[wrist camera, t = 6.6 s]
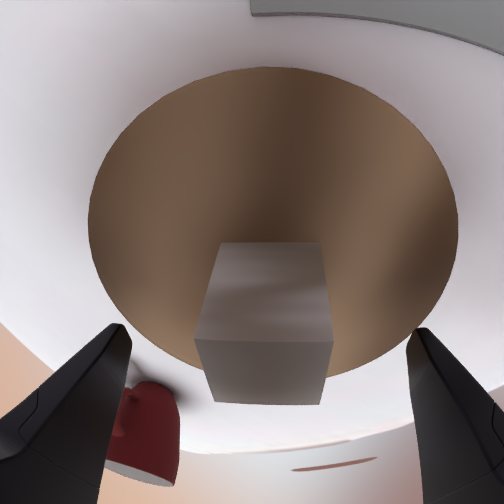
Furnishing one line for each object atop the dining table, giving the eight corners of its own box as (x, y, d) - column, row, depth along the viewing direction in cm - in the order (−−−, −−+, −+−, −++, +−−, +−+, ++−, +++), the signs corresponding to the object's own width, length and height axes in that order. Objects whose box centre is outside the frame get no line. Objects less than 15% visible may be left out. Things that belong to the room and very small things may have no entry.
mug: (93, 355, 27) (57, 438, 19) (156, 353, 25) (124, 456, 17) (145, 406, 33) (125, 478, 25) (204, 408, 31) (189, 490, 23)
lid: (477, 90, 7) (582, 135, 3) (400, 365, 15) (415, 442, 11) (60, 103, 8) (-43, 152, 4) (150, 361, 16) (126, 435, 12)
